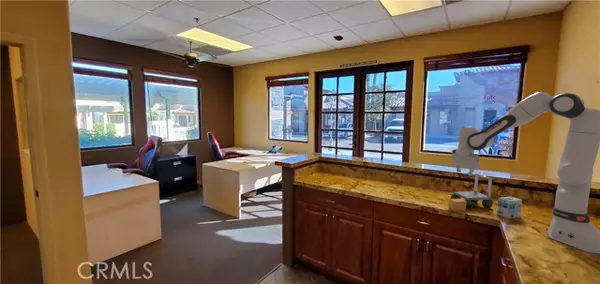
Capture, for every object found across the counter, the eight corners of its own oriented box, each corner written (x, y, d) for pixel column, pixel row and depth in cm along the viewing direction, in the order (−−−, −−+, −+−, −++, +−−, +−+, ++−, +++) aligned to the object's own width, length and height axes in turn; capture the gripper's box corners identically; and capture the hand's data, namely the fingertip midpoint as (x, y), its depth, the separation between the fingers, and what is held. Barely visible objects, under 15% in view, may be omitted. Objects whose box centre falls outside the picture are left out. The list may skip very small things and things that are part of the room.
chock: (465, 210, 166) (466, 201, 165) (454, 210, 165) (454, 201, 164) (460, 207, 171) (460, 198, 170) (448, 208, 170) (449, 199, 169)
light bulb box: (507, 218, 153) (509, 201, 152) (496, 214, 159) (497, 197, 158) (520, 217, 156) (522, 199, 155) (509, 213, 162) (511, 196, 161)
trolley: (492, 208, 170) (495, 177, 168) (464, 209, 167) (467, 178, 165) (476, 201, 183) (479, 173, 181) (450, 202, 180) (452, 173, 178)
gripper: (483, 154, 154) (482, 177, 155) (458, 149, 174) (457, 170, 175) (474, 154, 153) (472, 177, 154) (449, 150, 173) (448, 170, 175)
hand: (464, 173), depth 165 cm, fingers open, 8 cm apart
